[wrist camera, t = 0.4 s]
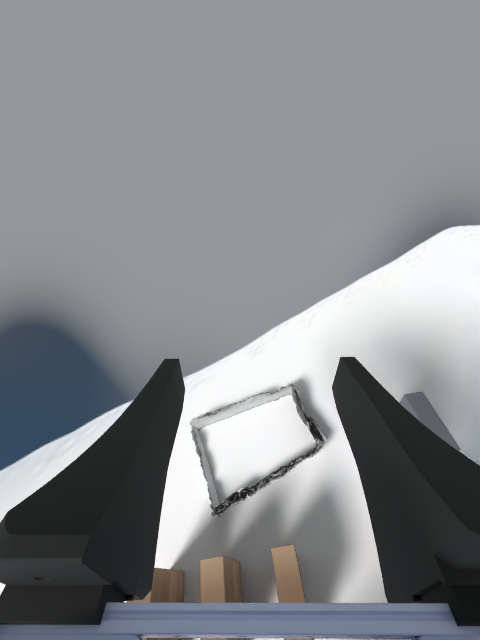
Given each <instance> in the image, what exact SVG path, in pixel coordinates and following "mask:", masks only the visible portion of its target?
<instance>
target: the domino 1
mask: <svg viewBox="0 0 480 640" xmlns="http://www.w3.org/2000/svg"><path fill="white" fill-rule="evenodd" d="M183 594H184V571H177V570H169V569H161V568H154V573H153V583H152V589H151V591H150V592H149V593H148V595H147V596H146V597H145V598H144V599H143V600H133V601H127V603H183ZM142 639H143V640H182V638H142Z"/></svg>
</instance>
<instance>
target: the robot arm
mask: <svg viewBox="0 0 480 640" xmlns="http://www.w3.org/2000/svg"><path fill="white" fill-rule="evenodd" d="M332 390H333V395H334V399H335V403H336V408H337V411H338V414H339V417H340V419H341V422H342V425H343V428H344V431H345V433H346V436H347V439H348V441H349V444H350V447H351V450H352V452H353V455H354V458H355V461H356V464H357V467H358V471H359V474H360V478H361V482H362V486H363V490H364V494H365V498H366V502H367V506H368V510H369V515H370V519H371V523H372V528H373V533H374V537H375V542H376V547H377V552H378V557H379V562H380V567H381V572H382V578H383V583H384V589H385V595H386V598H387V601H388V603H123V602H124V601H133V600H143V599H144V598H145V597H146V596H147V595H148V593H149V592H150V591H151V589H152V583H153V573H154V564H155V555H156V547H157V539H158V531H159V523H160V516H161V509H162V502H163V495H164V489H165V483H166V476H167V470H168V465H169V461H170V457H171V453H172V449H173V445H174V441H175V437H176V433H177V429H178V425H179V421H180V417H181V413H182V409H183V402H184V394H185V386H184V381H183V377H182V372H181V367H180V362H179V359H165V360H164V361H163V362H162V363H161V365H160V366H159V368H158V369H157V371H156V372H155V373H154V375H153V376H152V378H151V379H150V380H149V382H148V383H147V384H146V386H145V387H144V388H143V389H142V391H141V392H140V393H139V395H138V396H137V397H136V398H135V400H134V401H133V402H132V403H131V404H130V405H129V407H128V408H127V409H126V410H125V411H124V412H123V414H122V415H121V416H120V417H119V418H118V419H117V420H116V421H115V423H114V424H113V425H112V426H111V427H110V428H109V429H108V430H107V431H106V432H105V433H104V434H103V435H102V436H101V437H100V438H99V439H98V440H97V441H96V442H94V443H93V444H92V445H91V446H90V447H89V448H88V449H87V450H86V451H85V452H84V453H83V454H81V455H80V456H79V457H78V458H77V459H76V460H75V461H73V462H72V463H71V464H70V465H69V466H67V467H66V468H65V469H64V470H62V471H61V472H60V473H59V474H58V475H56V476H55V477H54V478H53V479H52V480H50V481H49V482H48V483H46V484H45V485H44V486H43V487H41V488H40V489H38V490H37V491H36V492H34V493H33V494H32V495H30V496H29V497H28V498H26V499H25V500H23V501H22V502H21V503H19V504H18V505H17V506H15V507H14V508H12V509H11V510H9V511H8V512H7V514H6V515H5V517H4V518H3V520H2V521H1V523H0V582H1V583H3V584H6V586H5V588H4V590H3V592H2V594H1V595H0V640H143V639H142V638H352V639H412V640H480V466H479V465H478V464H476V463H475V462H473V461H472V460H470V459H469V458H467V457H466V456H465V455H463V454H462V453H460V452H459V451H458V450H456V449H455V448H453V447H452V446H451V445H449V444H448V443H447V442H445V441H444V440H443V439H441V438H440V437H439V436H437V435H436V434H435V433H434V432H432V431H431V430H430V429H429V428H427V427H426V426H425V425H424V424H422V423H421V422H420V421H419V420H418V419H417V418H415V417H414V416H413V415H412V414H411V413H410V412H409V411H408V410H406V409H405V408H404V407H403V406H402V405H401V404H400V403H399V402H398V401H397V400H396V399H395V398H394V397H393V396H392V395H391V394H390V393H389V392H388V391H386V390H385V389H384V388H383V387H382V385H381V384H380V383H379V382H378V381H377V380H376V379H375V378H374V377H373V376H372V375H371V374H370V373H369V372H368V371H367V370H366V369H365V368H364V367H363V366H362V364H361V363H360V362H359V361H358V360H357V359H356V358H355V357H340V361H339V364H338V368H337V371H336V375H335V379H334V382H333V386H332Z"/></svg>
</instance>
